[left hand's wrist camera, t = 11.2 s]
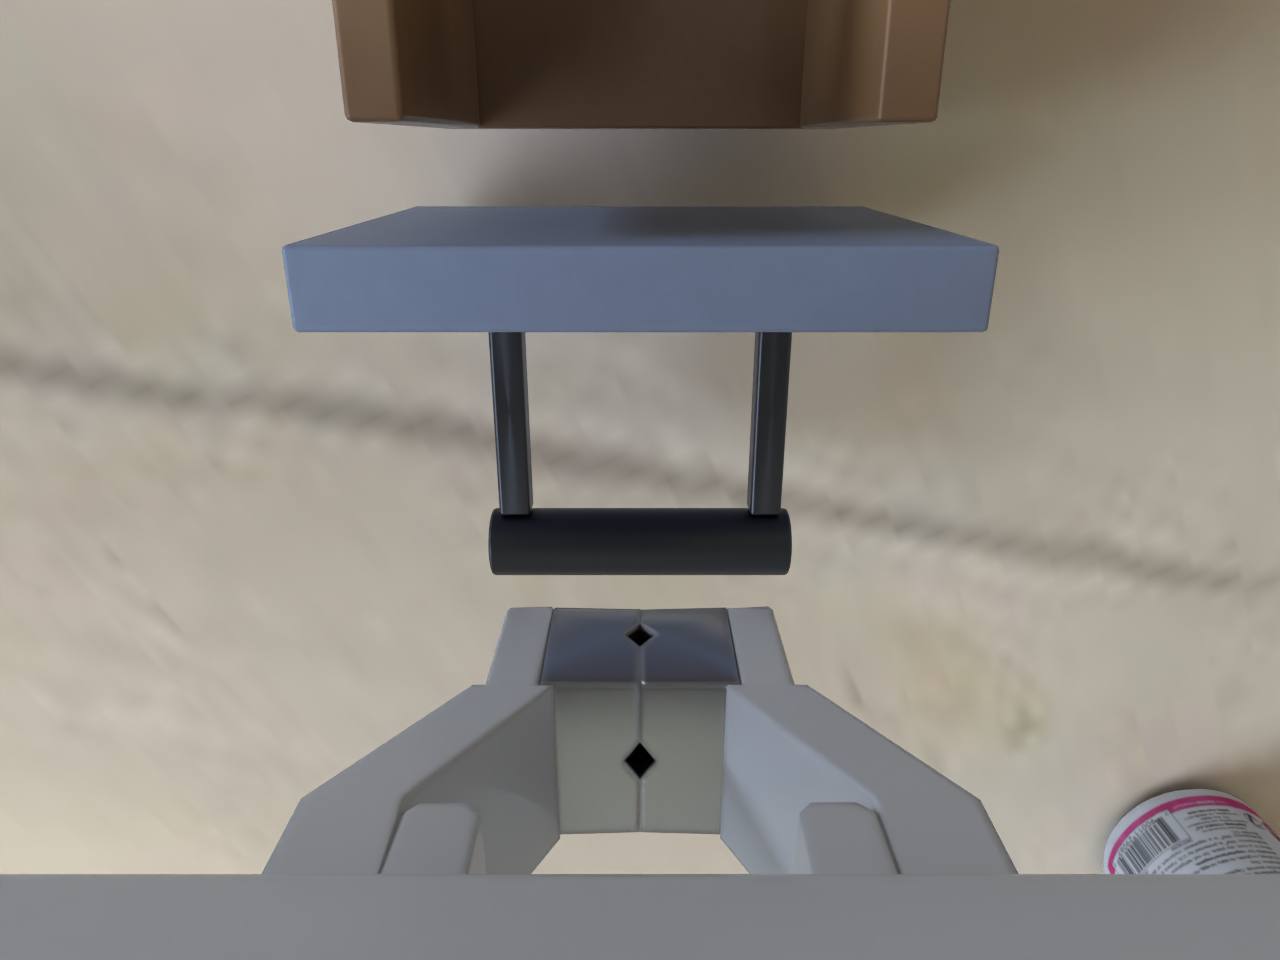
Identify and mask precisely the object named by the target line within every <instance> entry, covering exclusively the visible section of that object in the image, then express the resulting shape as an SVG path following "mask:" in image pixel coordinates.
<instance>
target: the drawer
mask: <svg viewBox="0 0 1280 960" xmlns="http://www.w3.org/2000/svg"><path fill="white" fill-rule="evenodd" d="M332 4H333V13H334V22H335V31H336V39H337V48H338V57H339V66H340V75H341V84H342V93H343V102H344V110H345V115H346V117H347V119H348V120H350V121H352V122H362V123H376V124H391V125H405V126H420V127H435V128H447V129H836V128H850V127H865V126H881V125H896V124H911V123H926V122H933V121H935V120H936V118H937V111H938V102H939V94H940V85H941V76H942V67H943V59H944V50H945V41H946V32H947V24H948V15H949V6H950V0H332ZM282 253H283V260H284V267H285V274H286V280H287V287H288V294H289V301H290V308H291V315H292V322H293V328H294V330H295V331H298V332H489V347H490V363H491V378H492V394H493V410H494V426H495V442H496V458H497V474H498V490H499V506H500V508H496V509H494V510H493V512H492V515H491V519H490V526H489V561H490V567H491V570H492V573H493V574H495V575H785V574H787V573H788V571H789V568H790V563H791V553H792V534H791V523H790V518H789V514H788V512H787V510H786V509H784V508H781V495H782V479H783V464H784V448H785V432H786V417H787V401H788V385H789V370H790V354H791V338H792V332H984V331H986V330H987V328H988V322H989V315H990V308H991V302H992V295H993V288H994V281H995V274H996V267H997V260H998V254H999V249H998V246H995V245H993V244H989V243H986V242H982V241H979V240H975V239H972V238H969V237H965V236H962V235H958V234H955V233H951V232H948V231H945V230H941V229H938V228H934V227H931V226H927V225H924V224H921V223H917V222H914V221H910V220H907V219H903V218H900V217H896V216H893V215H890V214H886V213H883V212H879V211H876V210H872V209H869V208H866V207H414V208H410V209H407V210H404V211H400V212H397V213H393V214H390V215H387V216H383V217H380V218H376V219H373V220H370V221H366V222H363V223H359V224H356V225H353V226H349V227H346V228H342V229H339V230H335V231H332V232H329V233H325V234H322V235H318V236H315V237H312V238H308V239H305V240H301V241H298V242H295V243H291V244H288V245H285V246H283V249H282ZM525 332H755V352H754V373H753V393H752V414H751V434H750V455H749V476H748V496H747V504H748V508H532V505H533V490H532V469H531V448H530V427H529V406H528V385H527V365H526V344H525Z"/></svg>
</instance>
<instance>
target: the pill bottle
mask: <svg viewBox="0 0 1280 960" xmlns="http://www.w3.org/2000/svg"><path fill="white" fill-rule="evenodd" d="M1103 868H1104V874H1280V838H1279V837H1278V836H1277V835H1276V834H1275V833H1274V831H1273V830H1272V829H1271V828H1270V827H1269V826H1268V825H1267V824H1266V823H1265V822H1264V821H1263V820H1262V819H1261V818H1260V817H1259V816H1258V815H1257V814H1256V813H1255V812H1254V811H1253V810H1252V809H1251V808H1250V807H1249V806H1248V805H1247V804H1245V803H1244V802H1243V801H1241V800H1240V799H1238V798H1236V797H1234V796H1232V795H1230V794H1227V793H1225V792H1221V791H1217V790H1209V789H1188V790H1178V791H1173V792H1168V793H1164V794H1161V795H1159V796H1156V797H1153V798H1151V799H1148V800H1146V801H1144V802H1143V803H1141V804H1139V805H1138V806H1136V807H1135V808H1134V809H1132V810H1131V811H1130V812H1128V813H1127V814H1126V815H1125V816H1124V817H1123V818H1122V819H1121V820H1120V821H1119V822H1118V824H1117V825H1116V826H1115V828H1114V829H1113V831H1112V832H1111V834H1110V836H1109V838H1108V840H1107V843H1106V846H1105V850H1104V856H1103Z"/></svg>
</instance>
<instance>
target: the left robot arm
mask: <svg viewBox="0 0 1280 960" xmlns="http://www.w3.org/2000/svg"><path fill="white" fill-rule="evenodd" d="M620 832H657V833H694V834H720V838H721V839H722V840H723V842H724V843H725V844H726V845H727V847H728V848H729V849H730V850H731V852H732V853H733V854H734V855H735V856H736V858H737V859H738V860H739V861H740V863H741V864H742V865H743V866H744V868H745V869H746V870H747V871H748V872H749V874H531V873H532V872H533V871H534V869H535V868H536V867H537V866H538V865H539V863H540V862H541V861H542V860H543V858H544V857H545V856H546V855H547V854H548V852H549V851H550V850H551V849H552V847H553V846H554V845H555V844H556V843H557V841H558V840H559V839H560V834H585V833H620ZM0 960H1280V874H1018V872H1017V870H1016V868H1015V866H1014V864H1013V862H1012V860H1011V859H1010V857H1009V855H1008V853H1007V851H1006V849H1005V847H1004V845H1003V843H1002V841H1001V839H1000V837H999V835H998V833H997V831H996V830H995V828H994V826H993V824H992V822H991V820H990V818H989V816H988V814H987V812H986V810H985V808H984V806H983V804H982V802H981V801H980V800H979V799H978V798H976V797H975V796H973V795H972V794H970V793H969V792H967V791H966V790H964V789H963V788H961V787H960V786H958V785H957V784H955V783H954V782H952V781H951V780H949V779H948V778H946V777H945V776H943V775H942V774H940V773H939V772H937V771H936V770H934V769H933V768H931V767H930V766H928V765H927V764H925V763H924V762H922V761H921V760H919V759H918V758H916V757H915V756H913V755H912V754H910V753H909V752H907V751H906V750H904V749H903V748H901V747H900V746H898V745H897V744H895V743H894V742H892V741H891V740H889V739H888V738H886V737H885V736H883V735H882V734H880V733H878V732H877V731H875V730H874V729H872V728H871V727H869V726H868V725H866V724H865V723H863V722H862V721H860V720H859V719H857V718H856V717H854V716H853V715H851V714H850V713H848V712H847V711H845V710H844V709H842V708H841V707H839V706H838V705H836V704H835V703H833V702H832V701H830V700H829V699H827V698H826V697H824V696H823V695H821V694H820V693H818V692H817V691H815V690H814V689H812V688H811V687H809V686H808V685H794V681H793V678H792V675H791V671H790V668H789V664H788V661H787V657H786V654H785V651H784V647H783V644H782V640H781V637H780V634H779V630H778V627H777V623H776V620H775V616H774V613H773V610H772V609H771V608H769V607H749V608H727V609H726V608H694V609H652V610H640V609H594V608H555V609H553V608H552V607H524V608H510V609H509V610H508V611H507V612H506V615H505V619H504V622H503V626H502V629H501V633H500V636H499V640H498V643H497V647H496V650H495V653H494V657H493V660H492V664H491V667H490V671H489V674H488V678H487V681H486V685H472V686H471V687H469V688H468V689H466V690H465V691H463V692H462V693H460V694H459V695H457V696H456V697H454V698H453V699H451V700H450V701H448V702H447V703H445V704H444V705H442V706H441V707H439V708H437V709H436V710H434V711H433V712H431V713H430V714H428V715H427V716H425V717H424V718H422V719H421V720H419V721H418V722H416V723H415V724H413V725H412V726H410V727H409V728H407V729H406V730H404V731H403V732H401V733H400V734H398V735H397V736H395V737H394V738H392V739H391V740H389V741H388V742H386V743H385V744H383V745H382V746H380V747H378V748H377V749H375V750H374V751H372V752H371V753H369V754H368V755H366V756H365V757H363V758H362V759H360V760H359V761H357V762H356V763H354V764H353V765H351V766H350V767H348V768H347V769H345V770H344V771H342V772H341V773H339V774H338V775H336V776H335V777H333V778H332V779H330V780H329V781H327V782H326V783H324V784H323V785H321V786H319V787H318V788H316V789H315V790H313V791H312V792H310V793H309V794H307V795H306V796H304V797H303V798H301V800H300V801H299V803H298V805H297V807H296V809H295V811H294V813H293V815H292V817H291V819H290V821H289V822H288V824H287V826H286V828H285V830H284V832H283V834H282V836H281V838H280V840H279V842H278V843H277V845H276V847H275V849H274V851H273V853H272V855H271V857H270V859H269V861H268V863H267V864H266V866H265V868H264V870H263V872H262V874H0Z"/></svg>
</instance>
